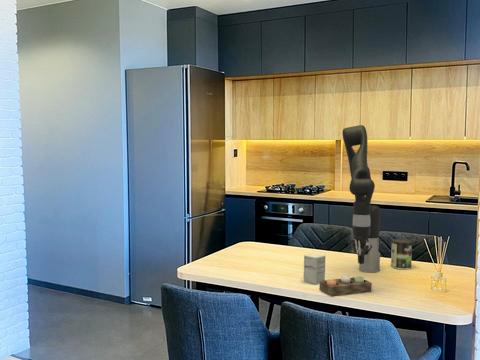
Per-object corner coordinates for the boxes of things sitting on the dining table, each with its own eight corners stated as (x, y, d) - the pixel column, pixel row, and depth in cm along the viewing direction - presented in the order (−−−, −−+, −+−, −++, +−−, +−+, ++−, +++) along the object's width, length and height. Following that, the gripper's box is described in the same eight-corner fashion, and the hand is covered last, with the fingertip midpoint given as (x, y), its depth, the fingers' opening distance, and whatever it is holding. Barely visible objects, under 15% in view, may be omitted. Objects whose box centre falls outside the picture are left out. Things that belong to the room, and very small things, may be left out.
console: (358, 285, 217) (358, 276, 216) (371, 291, 207) (371, 282, 207) (319, 289, 210) (319, 280, 210) (331, 296, 201) (331, 287, 200)
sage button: (360, 283, 213) (360, 276, 213) (365, 285, 210) (365, 278, 209) (352, 284, 212) (352, 277, 212) (357, 286, 208) (357, 279, 208)
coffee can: (415, 267, 249) (416, 240, 248) (404, 270, 243) (405, 243, 242) (397, 263, 257) (398, 237, 256) (386, 266, 251) (387, 240, 250)
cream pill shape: (346, 281, 211) (347, 274, 211) (351, 284, 207) (352, 277, 207) (338, 282, 210) (339, 275, 209) (343, 285, 206) (344, 277, 206)
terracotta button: (332, 286, 209) (333, 279, 208) (337, 289, 205) (337, 281, 205) (324, 287, 207) (325, 280, 207) (329, 289, 204) (329, 282, 203)
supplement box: (302, 281, 223) (303, 254, 222) (312, 278, 228) (313, 252, 227) (315, 285, 217) (316, 257, 216) (325, 281, 223) (325, 255, 222)
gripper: (378, 226, 204) (377, 266, 205) (359, 221, 216) (359, 259, 218) (363, 227, 201) (362, 268, 203) (345, 222, 214) (345, 260, 215)
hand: (360, 263), depth 210 cm, fingers closed
